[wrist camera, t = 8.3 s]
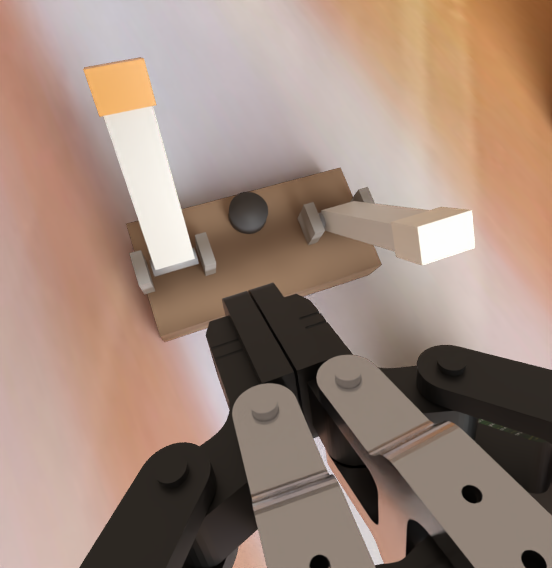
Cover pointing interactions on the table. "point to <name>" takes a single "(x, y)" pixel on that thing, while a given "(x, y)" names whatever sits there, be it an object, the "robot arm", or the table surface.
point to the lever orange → (142, 159)
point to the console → (254, 251)
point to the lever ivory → (404, 229)
